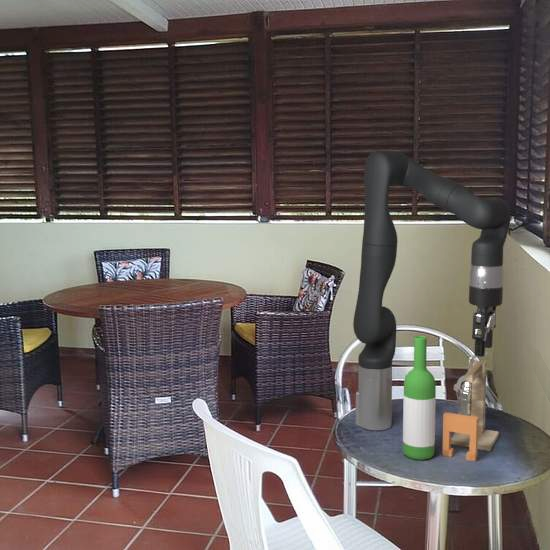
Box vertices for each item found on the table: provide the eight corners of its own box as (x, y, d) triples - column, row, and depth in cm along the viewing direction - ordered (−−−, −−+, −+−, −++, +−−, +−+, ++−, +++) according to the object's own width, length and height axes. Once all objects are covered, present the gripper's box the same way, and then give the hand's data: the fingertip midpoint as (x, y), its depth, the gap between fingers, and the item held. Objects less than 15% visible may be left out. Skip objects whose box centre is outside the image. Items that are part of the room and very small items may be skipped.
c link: (442, 455, 165) (443, 414, 163) (444, 452, 166) (445, 412, 165) (475, 461, 161) (476, 419, 159) (477, 458, 163) (478, 417, 161)
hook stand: (447, 448, 169) (448, 371, 166) (460, 429, 181) (462, 358, 178) (487, 455, 164) (490, 377, 161) (498, 435, 176) (500, 362, 174)
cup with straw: (452, 416, 191) (454, 348, 188) (485, 419, 189) (487, 350, 186) (452, 427, 183) (454, 356, 180) (486, 429, 181) (489, 358, 178)
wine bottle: (396, 451, 167) (397, 335, 163) (421, 446, 170) (423, 332, 166) (414, 463, 160) (416, 342, 156) (441, 457, 163) (443, 338, 159)
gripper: (476, 278, 163) (474, 343, 165) (462, 287, 151) (460, 357, 153) (508, 280, 159) (505, 346, 162) (496, 290, 147) (493, 361, 149)
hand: (483, 351), depth 157 cm, fingers open, 8 cm apart
